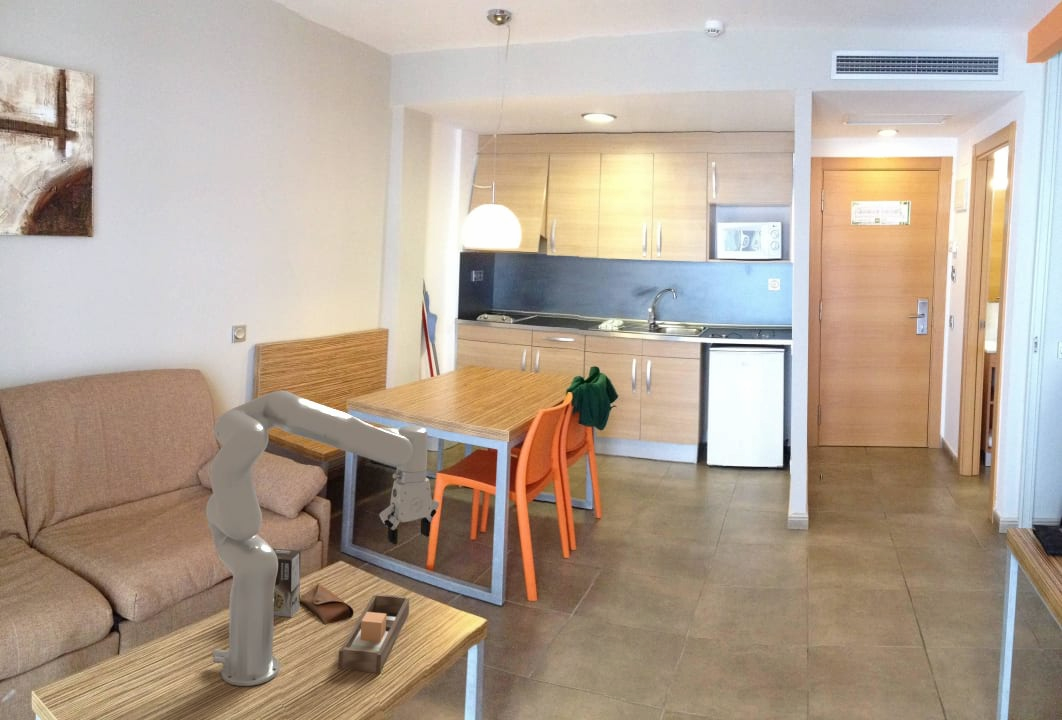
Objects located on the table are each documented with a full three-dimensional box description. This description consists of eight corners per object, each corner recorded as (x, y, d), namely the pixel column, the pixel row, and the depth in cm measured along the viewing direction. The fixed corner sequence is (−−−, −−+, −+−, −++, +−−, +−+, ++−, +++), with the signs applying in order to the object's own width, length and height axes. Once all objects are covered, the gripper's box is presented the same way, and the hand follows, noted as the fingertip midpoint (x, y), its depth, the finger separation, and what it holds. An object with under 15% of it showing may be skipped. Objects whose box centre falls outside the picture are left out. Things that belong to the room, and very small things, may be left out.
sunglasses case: (292, 599, 219) (304, 577, 221) (311, 606, 224) (323, 583, 225) (325, 625, 206) (338, 601, 208) (345, 631, 211) (357, 607, 213)
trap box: (338, 668, 187) (339, 648, 186) (372, 610, 216) (373, 593, 215) (380, 673, 186) (381, 653, 185) (408, 614, 216) (409, 596, 215)
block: (360, 640, 195) (361, 620, 195) (366, 630, 200) (366, 611, 200) (380, 642, 195) (381, 623, 194) (385, 632, 200) (386, 613, 199)
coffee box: (300, 607, 215) (302, 550, 213) (290, 618, 209) (292, 559, 207) (268, 603, 216) (269, 547, 214) (257, 614, 210) (258, 556, 208)
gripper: (389, 484, 194) (387, 550, 196) (447, 473, 205) (445, 536, 208) (374, 476, 199) (372, 541, 202) (431, 466, 211) (428, 527, 213)
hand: (409, 538), depth 205 cm, fingers open, 9 cm apart
